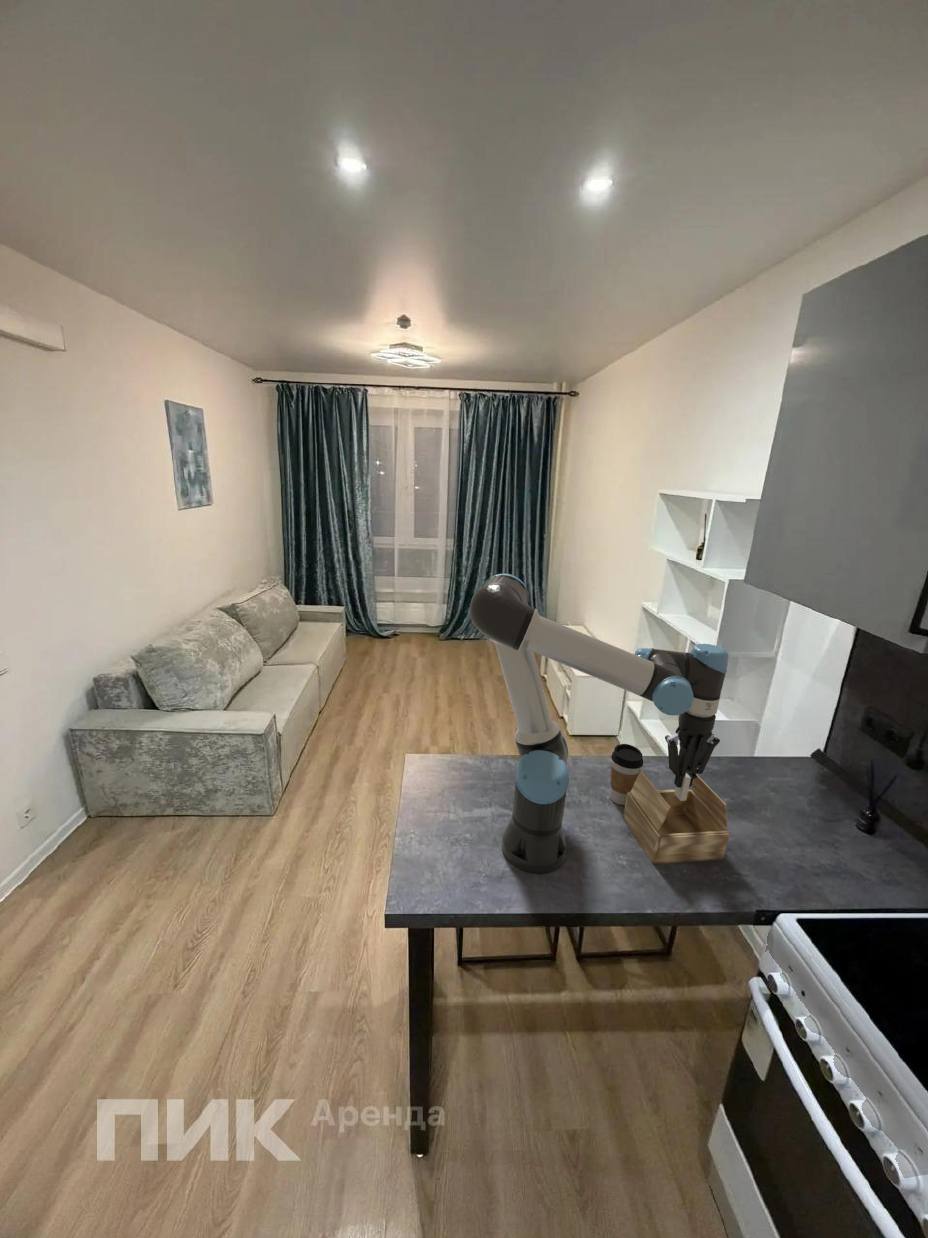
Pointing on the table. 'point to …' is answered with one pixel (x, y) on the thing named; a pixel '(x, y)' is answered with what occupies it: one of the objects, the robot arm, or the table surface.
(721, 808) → the flap
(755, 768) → the table surface
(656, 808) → the flap
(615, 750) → the coffee cup
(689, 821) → the crate
